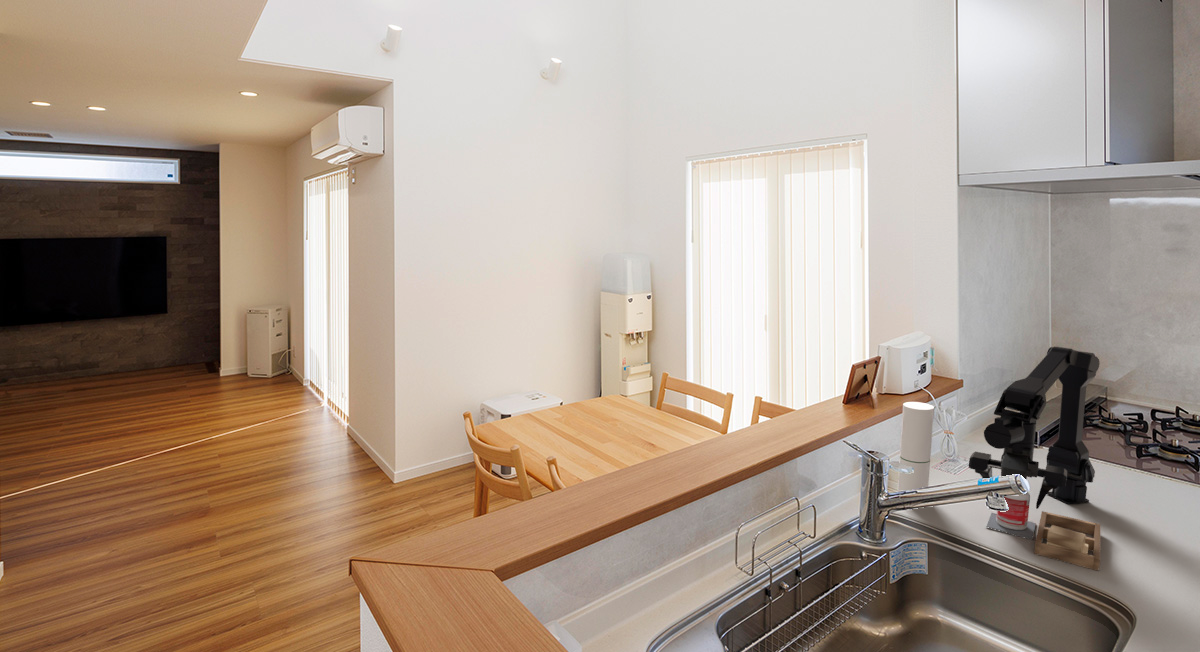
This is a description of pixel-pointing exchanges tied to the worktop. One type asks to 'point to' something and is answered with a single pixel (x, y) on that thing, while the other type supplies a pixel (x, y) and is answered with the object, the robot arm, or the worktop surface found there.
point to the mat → (1022, 533)
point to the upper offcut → (1066, 538)
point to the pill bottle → (1015, 512)
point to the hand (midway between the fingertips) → (1013, 502)
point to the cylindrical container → (916, 444)
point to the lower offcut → (1084, 550)
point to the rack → (1067, 554)
